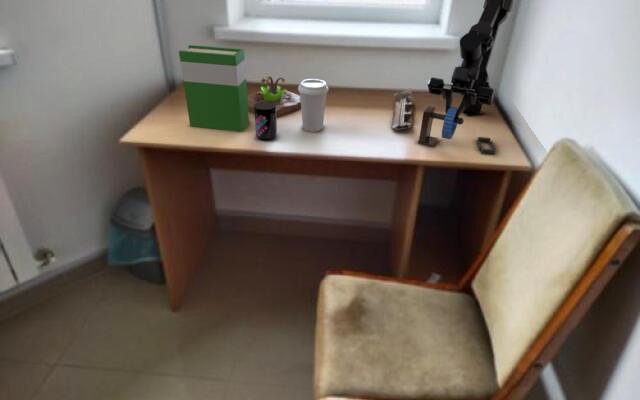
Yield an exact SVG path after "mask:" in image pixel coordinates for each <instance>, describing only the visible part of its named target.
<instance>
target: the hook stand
mask: <svg viewBox="0 0 640 400" xmlns="http://www.w3.org/2000/svg"><path fill="white" fill-rule="evenodd" d="M435 109H436V107H435V106H431V105H428V106H427V107H426V108H425V109H424V110H423V113H422V118H421V125H420V131H419V138H418V141H417V144H418V145H421V146H426V147H431V148H433V147H434V146H435V144H436V143H437V141H438V139H439V138H438V137H434V136H431V133H432V127H433V122H434V119H435V120H441V121H444V120H445V117H446V114H443V113H438V112H435ZM453 122H454V123H457V125H463V124H464V122H465V120H464V118H463V117H459V118H457V119H456V118H454V121H453Z"/></svg>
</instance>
